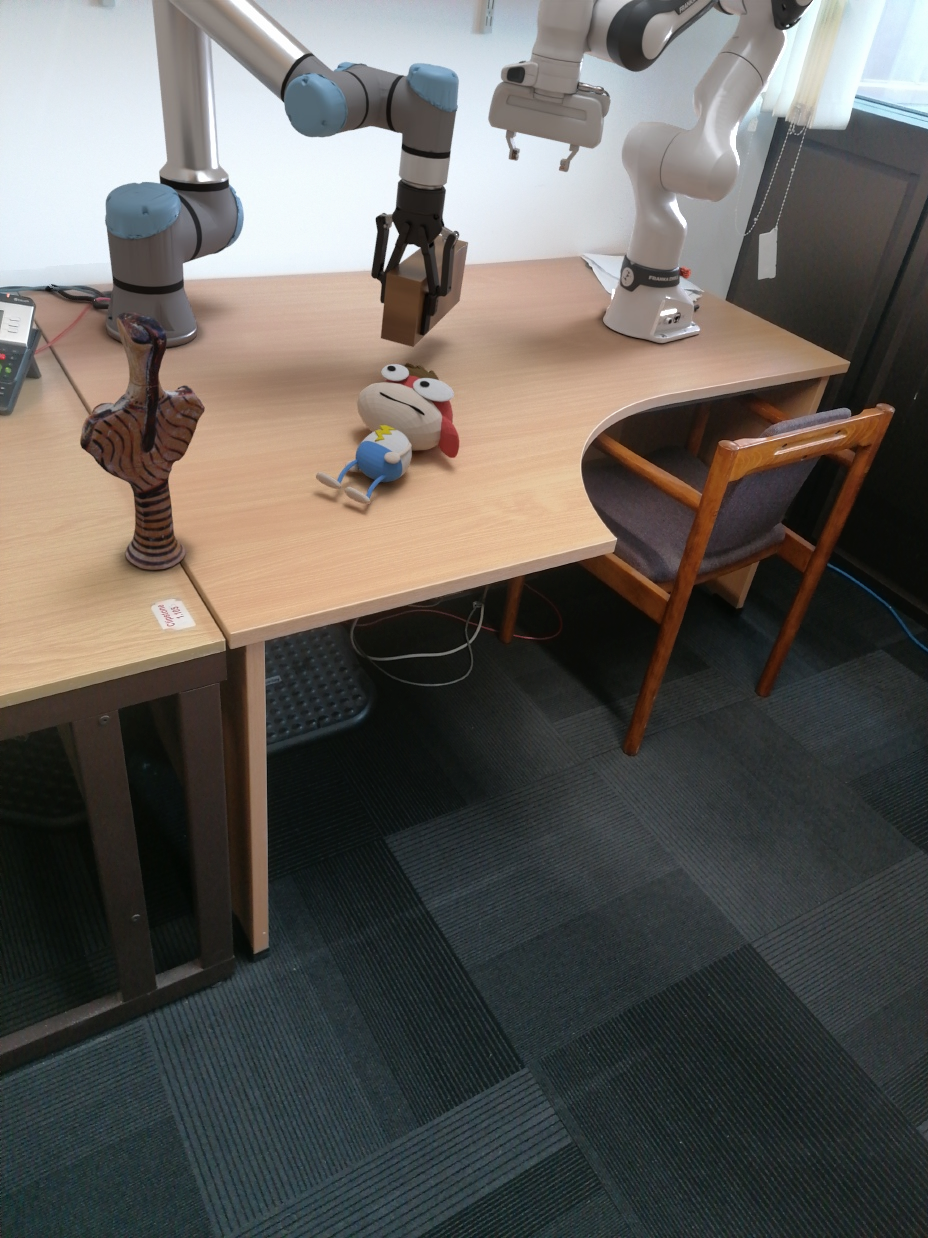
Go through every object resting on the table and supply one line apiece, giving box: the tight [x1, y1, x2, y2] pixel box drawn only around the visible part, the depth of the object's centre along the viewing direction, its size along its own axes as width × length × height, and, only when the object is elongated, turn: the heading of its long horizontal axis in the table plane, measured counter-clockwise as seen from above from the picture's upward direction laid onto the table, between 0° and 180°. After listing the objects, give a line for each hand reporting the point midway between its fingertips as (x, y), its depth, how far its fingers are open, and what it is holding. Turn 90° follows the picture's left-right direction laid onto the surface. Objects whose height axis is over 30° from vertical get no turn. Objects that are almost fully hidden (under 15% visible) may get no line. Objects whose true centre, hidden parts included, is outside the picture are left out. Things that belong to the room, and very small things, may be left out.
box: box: [380, 234, 469, 348], centre depth 156 cm, size 26×6×11 cm, turn 163°
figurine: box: [79, 312, 206, 571], centre depth 99 cm, size 15×8×30 cm, turn 144°
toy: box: [315, 362, 460, 505], centre depth 132 cm, size 18×10×30 cm
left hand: (406, 327), depth 152 cm, fingers closed on box, 6 cm apart
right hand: (538, 164), depth 160 cm, fingers open, 8 cm apart
